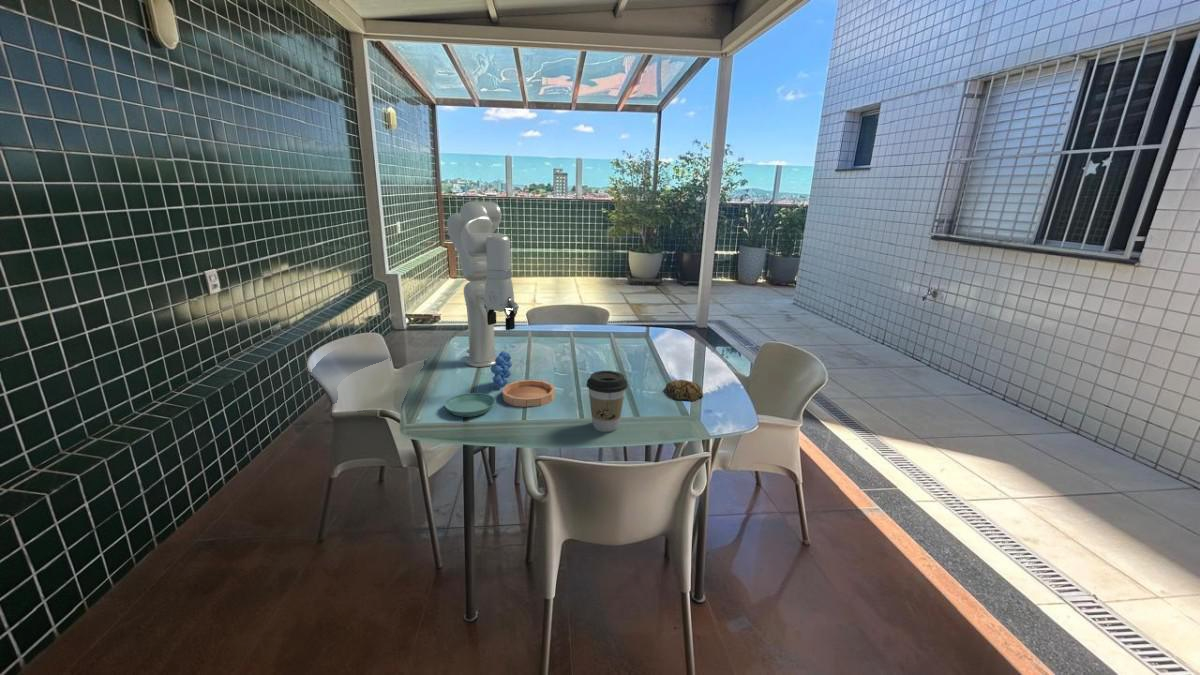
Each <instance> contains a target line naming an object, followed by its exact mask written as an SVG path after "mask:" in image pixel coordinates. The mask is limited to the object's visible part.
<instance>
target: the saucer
mask: <svg viewBox="0 0 1200 675" xmlns="http://www.w3.org/2000/svg"><path fill="white" fill-rule="evenodd" d="M495 404H496V398H495V397H494V396H492V395H491V394H487V393H481V392H471V393H470V392H469V393H468V392H467V393H462V394H458V395H455V396H452V397H450V398H447V400H446V401H445V403H444V407H445V409H446V410H447V411H448V412H450V413H451V414H453V415H455V416H457V417H461V416H462V417H463V418H467V417H468V418H473V417H478V416H481V415H484V414H486V413H487V412H488V411H490V410H491V409H492V407H493V406H494V405H495ZM472 416H473V417H472ZM462 417H461V418H462Z"/></svg>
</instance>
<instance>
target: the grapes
mask: <svg viewBox="0 0 1200 675" xmlns="http://www.w3.org/2000/svg"><path fill="white" fill-rule="evenodd" d="M511 356H512V355H511V354H510V353H509V352H507V351H506V350H502V351H501V352H500V353H499V354H498V357H497V358H496V359H495V362H496V364H494V365H491V366H490V367H489V368H490V372H491V373H492V374H494V376H493V377H492V378H491V379H492V382H493V383H494V384H495V387H496V388H497V389H502V387H505V386H506V385H507V384H508V378H510V376H511V375H512V373H511V371H510V368H512V366H513V363H512V361H511V359H512V357H511Z"/></svg>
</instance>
